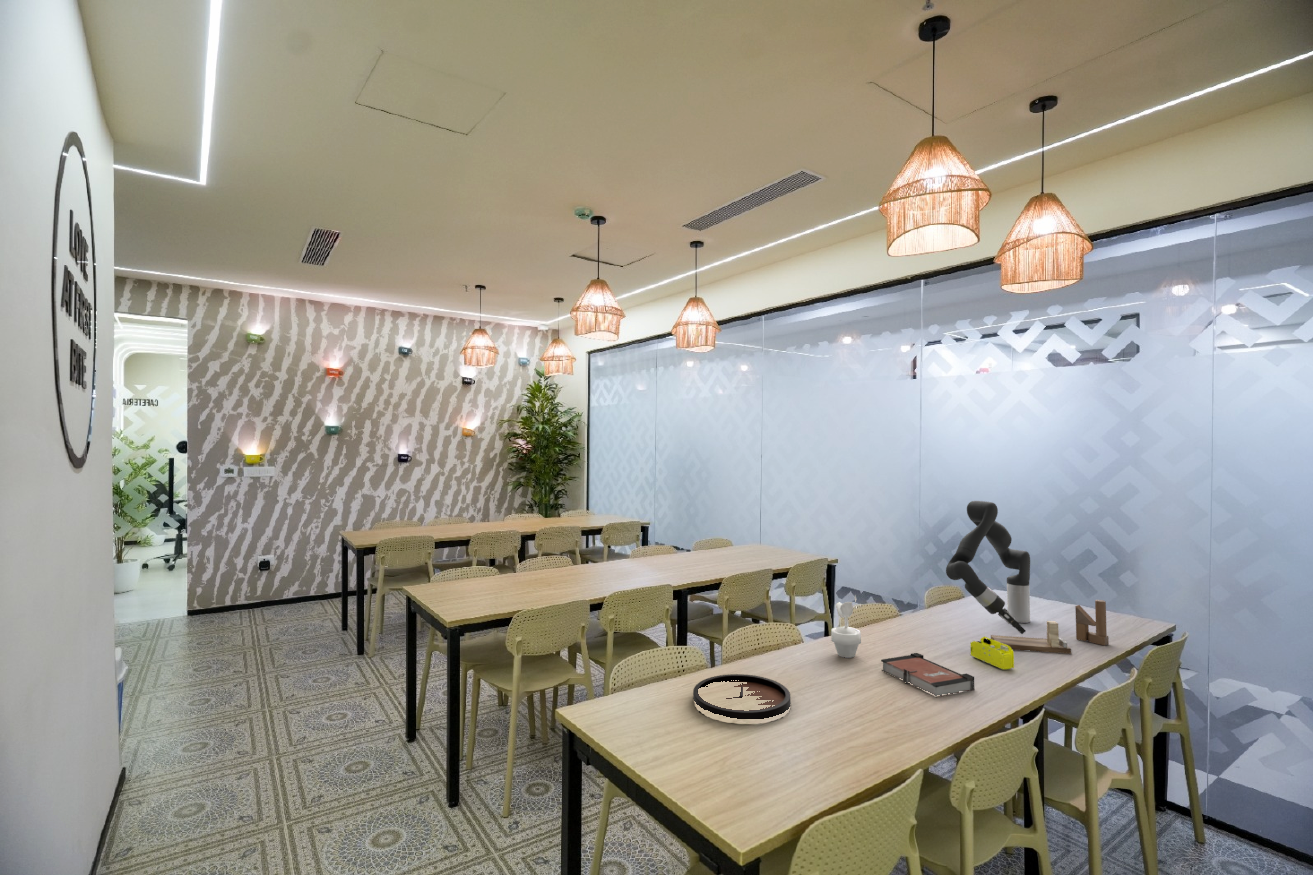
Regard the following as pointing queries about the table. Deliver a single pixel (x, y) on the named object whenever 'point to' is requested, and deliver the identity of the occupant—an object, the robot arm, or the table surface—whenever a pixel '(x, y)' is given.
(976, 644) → the yellow toy chassis
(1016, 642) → the walnut board
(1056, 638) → the beige tall blocky piece
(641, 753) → the table surface
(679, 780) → the table surface
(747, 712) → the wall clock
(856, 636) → the potted plant
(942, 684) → the book
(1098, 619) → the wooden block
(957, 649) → the table surface
